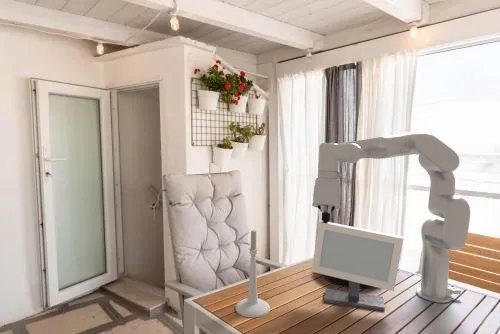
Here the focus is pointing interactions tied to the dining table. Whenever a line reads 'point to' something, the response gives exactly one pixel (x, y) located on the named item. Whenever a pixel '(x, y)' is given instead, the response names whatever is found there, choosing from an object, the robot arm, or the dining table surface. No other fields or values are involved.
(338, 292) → the frame stand
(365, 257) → the picture frame
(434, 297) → the robot arm
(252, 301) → the candlestick
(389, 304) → the dining table surface
